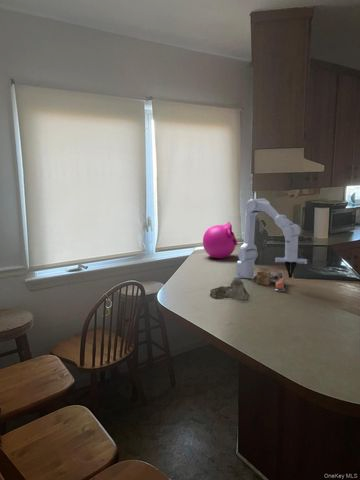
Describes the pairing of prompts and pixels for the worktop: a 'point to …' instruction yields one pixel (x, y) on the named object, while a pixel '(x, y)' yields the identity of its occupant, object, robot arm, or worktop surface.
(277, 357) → the worktop surface
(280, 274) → the bolt
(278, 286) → the latch lever
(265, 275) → the eye block
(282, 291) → the lever base
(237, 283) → the rock
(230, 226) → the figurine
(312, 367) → the worktop surface
